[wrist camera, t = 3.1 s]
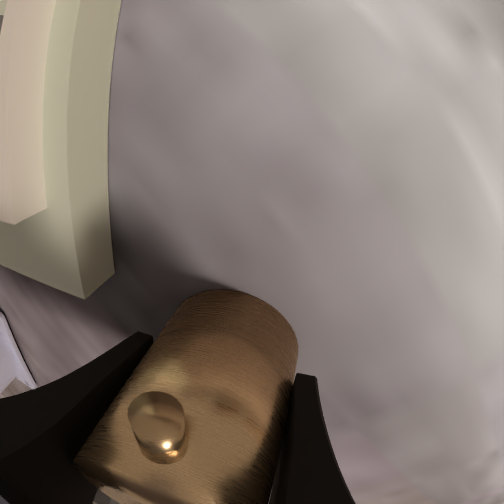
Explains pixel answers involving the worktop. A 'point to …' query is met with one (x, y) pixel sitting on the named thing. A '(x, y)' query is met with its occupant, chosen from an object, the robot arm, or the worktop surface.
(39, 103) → the cream peg hole base
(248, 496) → the spout can
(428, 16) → the worktop surface
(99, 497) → the pie
